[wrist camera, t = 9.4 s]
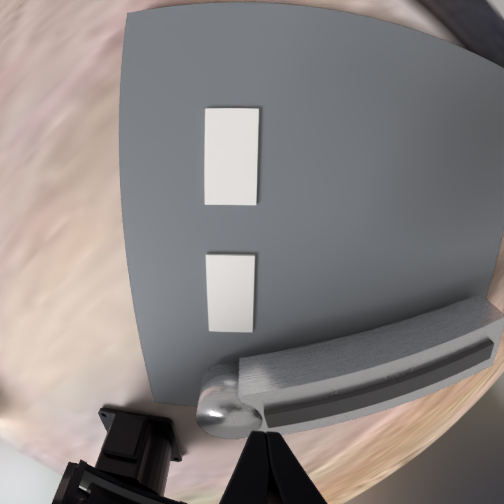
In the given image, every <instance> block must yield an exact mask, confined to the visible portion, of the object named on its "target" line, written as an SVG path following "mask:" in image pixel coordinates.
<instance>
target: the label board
mask: <svg viewBox="0 0 504 504" xmlns="http://www.w3.org/2000/svg"><path fill="white" fill-rule="evenodd" d="M119 165H120V188H121V204H122V218H123V229H124V239H125V248H126V257H127V265H128V272H129V280H130V286H131V293H132V299H133V305H134V311H135V317H136V322H137V328H138V333H139V338H140V343H141V347H142V352H143V357H144V361H145V366H146V370H147V374H148V378H149V382H150V386H151V390H152V394H153V398H154V402H156V403H165V404H174V405H185V406H198V401H199V395H200V389H201V383H202V378H203V375H204V374H205V372H206V371H207V370H209V369H210V368H211V367H213V366H216V365H219V364H223V363H236V364H239V358H245V357H250V356H256V355H262V354H267V353H273V352H278V351H283V350H288V349H293V348H298V347H302V346H307V345H312V344H316V343H320V342H325V341H329V340H333V339H337V338H341V337H345V336H349V335H353V334H357V333H361V332H365V331H368V330H372V329H376V328H379V327H383V326H386V325H390V324H393V323H396V322H400V321H403V320H406V319H410V318H413V317H416V316H419V315H422V314H425V313H428V312H431V311H434V310H437V309H440V308H443V307H446V306H449V305H451V304H454V303H457V302H460V301H462V300H465V299H468V298H470V297H473V296H476V295H478V294H481V295H482V296H484V297H485V298H486V296H487V292H488V289H489V286H490V283H491V279H492V276H493V272H494V268H495V265H496V261H497V257H498V253H499V248H500V244H501V239H502V235H503V230H504V68H502V67H501V66H499V65H497V64H495V63H493V62H491V61H489V60H487V59H485V58H483V57H481V56H479V55H477V54H475V53H473V52H470V51H468V50H466V49H464V48H461V47H459V46H457V45H454V44H452V43H449V42H447V41H444V40H442V39H439V38H437V37H434V36H431V35H428V34H426V33H423V32H420V31H417V30H414V29H410V28H407V27H404V26H401V25H397V24H394V23H390V22H387V21H383V20H379V19H375V18H371V17H366V16H362V15H357V14H352V13H347V12H342V11H336V10H330V9H324V8H317V7H309V6H300V5H290V4H277V3H256V2H222V3H201V4H188V5H178V6H169V7H162V8H155V9H148V10H142V11H137V12H131V13H127V19H126V27H125V35H124V44H123V55H122V67H121V82H120V104H119Z"/></svg>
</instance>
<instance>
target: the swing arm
mask: <svg viewBox="0 0 504 504" xmlns="http://www.w3.org/2000/svg"><path fill="white" fill-rule="evenodd" d="M503 328H504V313H502V312H501V311H500V310H499V309H498V308H497V307H495V306H494V305H493V304H492V303H491V302H490V301H488V300H487V299H486V298H485V297H484V296H482V295H481V294H478V295H476V296H473V297H470V298H468V299H465V300H462V301H460V302H457V303H454V304H451V305H449V306H446V307H443V308H440V309H437V310H434V311H431V312H428V313H425V314H422V315H419V316H416V317H413V318H410V319H406V320H403V321H400V322H396V323H393V324H390V325H386V326H383V327H379V328H376V329H372V330H368V331H365V332H361V333H357V334H353V335H349V336H345V337H341V338H337V339H333V340H329V341H325V342H320V343H316V344H312V345H307V346H302V347H298V348H293V349H288V350H283V351H278V352H273V353H267V354H262V355H256V356H250V357H245V358H239V364H236V363H223V364H219V365H216V366H213V367H211V368H210V369H209V370H207V371H206V372H205V374H204V375H203V378H202V383H201V389H200V395H199V401H198V407H197V413H196V421H197V424H198V425H199V427H200V428H201V429H202V430H203V431H205V432H206V433H208V434H210V435H212V436H215V437H219V438H224V439H240V438H245V437H248V436H249V434H250V432H251V431H253V430H254V431H264V432H266V431H272V432H279V433H280V434H281V435H283V434H289V433H295V432H300V431H305V430H310V429H315V428H320V427H324V426H329V425H333V424H337V423H341V422H345V421H349V420H353V419H356V418H360V417H363V416H367V415H370V414H374V413H377V412H380V411H383V410H386V409H390V408H393V407H396V406H398V405H401V404H404V403H407V402H410V401H413V400H415V399H418V398H421V397H423V396H426V395H428V394H431V393H433V392H436V391H438V390H441V389H443V388H445V387H448V386H450V385H452V384H455V383H457V382H459V381H461V380H463V379H466V378H468V377H470V376H472V375H474V374H476V373H478V372H480V371H482V370H484V369H486V368H488V367H490V366H492V365H493V362H494V359H495V356H496V353H497V349H498V346H499V343H500V339H501V335H502V331H503Z"/></svg>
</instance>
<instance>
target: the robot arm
mask: <svg viewBox="0 0 504 504" xmlns="http://www.w3.org/2000/svg"><path fill="white" fill-rule="evenodd" d="M98 414H99V416H100V418H101V420H102V422H103V425H104V427H105V429H106V431H107V435H106V438H105V440H104V443H103V445H102V448H101V452H100V454H99V457H98V460H97V462H96V465H95V468H94V467H92V466H90V465H88V464H87V462H85V461H83V460H80V462H79V464H77V463H72V462H69V463H68V465H67V467H66V470H65V472H64V475H63V477H62V480H61V482H60V484H59V487H58V489H57V492H56V494H55V497H54V499H53V502H52V504H187V503H185V502H182V501H180V502H178V501H175V500H172V499H169V498H166V497H164V492H165V486H166V481H167V476H168V471H169V465H170V461H176V462H180V461H182V453H181V450H180V446H179V442H178V439H177V435H176V431H175V427H174V423H173V421H172V420H171V419H169V418H162V417H154V416H147V415H140V414H134V413H128V412H122V411H116V410H111V409H106V408H100V410H99V412H98ZM79 485H80V486H82V487H84V488H86V489H87V490H86V491H85V490H83V489H81V488H79ZM219 504H327V502H326V501H325V499H324V498H323V497H322V495H321V494H320V492H319V491H318V489H317V488H316V487H315V485H314V484H313V482H312V481H311V479H310V478H309V476H308V475H307V474H306V472H305V471H304V469H303V468H302V466H301V465H300V463H299V462H298V460H297V459H296V457H295V456H294V454H293V453H292V451H291V450H290V448H289V446H288V445H287V443H286V442H285V440H284V439H283V437H282V436H281V434H280V433H279V432H272V431H266V432H264V431H254V430H253V431H251V432H250V434H249V437H248V439H247V442H246V444H245V446H244V449H243V451H242V453H241V456H240V458H239V460H238V463H237V465H236V467H235V469H234V472H233V474H232V476H231V479H230V481H229V483H228V485H227V487H226V490H225V492H224V494H223V496H222V498H221V500H220V503H219Z"/></svg>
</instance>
